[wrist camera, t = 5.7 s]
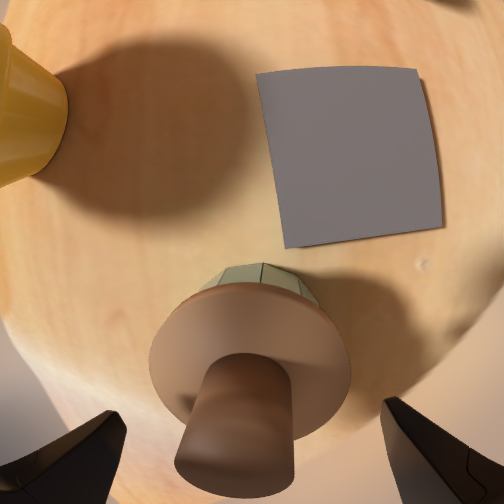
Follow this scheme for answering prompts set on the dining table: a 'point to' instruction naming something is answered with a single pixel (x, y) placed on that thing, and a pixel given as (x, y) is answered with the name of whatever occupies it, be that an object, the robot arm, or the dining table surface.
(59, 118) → the plant pot
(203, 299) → the lid
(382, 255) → the dining table surface
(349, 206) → the mat
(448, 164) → the dining table surface
